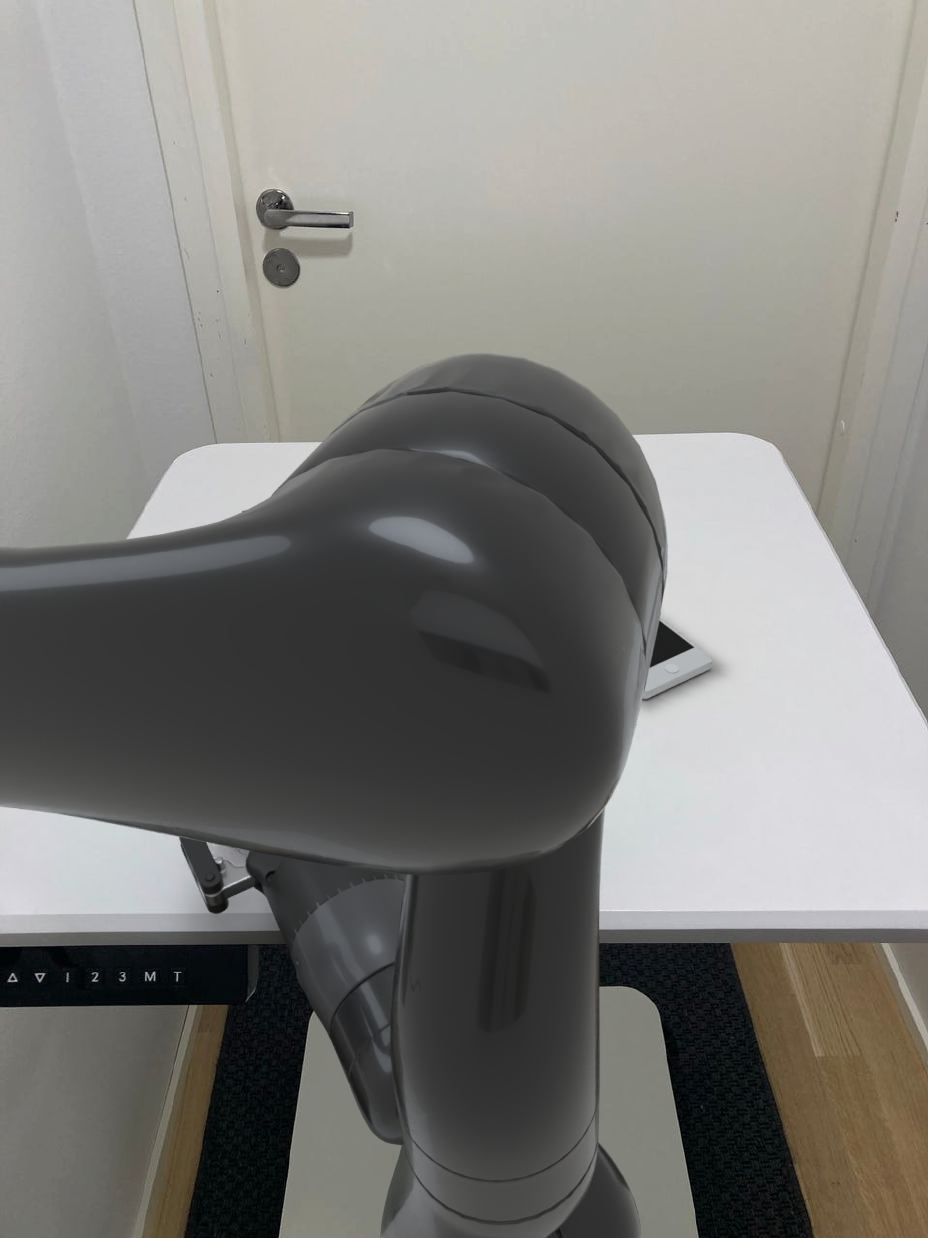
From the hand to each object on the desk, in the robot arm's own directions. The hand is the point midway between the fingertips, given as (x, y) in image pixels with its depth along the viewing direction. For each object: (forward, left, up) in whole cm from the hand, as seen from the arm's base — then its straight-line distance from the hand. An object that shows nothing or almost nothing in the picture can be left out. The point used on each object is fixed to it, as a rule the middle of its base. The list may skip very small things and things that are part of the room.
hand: (268, 743), depth 63 cm
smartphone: (+31, +5, -7) cm, 32 cm away
